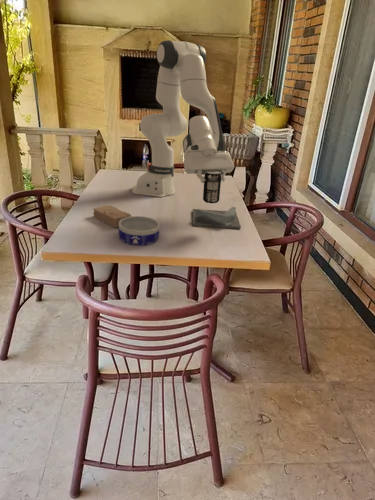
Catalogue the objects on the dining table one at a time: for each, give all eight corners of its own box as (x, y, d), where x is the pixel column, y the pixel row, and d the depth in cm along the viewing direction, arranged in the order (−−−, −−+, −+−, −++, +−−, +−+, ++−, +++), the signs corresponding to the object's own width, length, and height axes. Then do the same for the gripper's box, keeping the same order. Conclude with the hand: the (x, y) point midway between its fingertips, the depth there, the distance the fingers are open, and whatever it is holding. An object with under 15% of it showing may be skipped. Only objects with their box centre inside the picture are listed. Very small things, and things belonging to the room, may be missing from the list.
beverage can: (210, 198, 156) (212, 169, 151) (222, 201, 152) (225, 172, 147) (199, 200, 152) (201, 171, 147) (211, 204, 148) (213, 174, 143)
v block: (192, 211, 175) (193, 200, 173) (235, 214, 176) (236, 203, 173) (193, 226, 159) (194, 214, 156) (240, 229, 159) (242, 217, 157)
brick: (92, 217, 160) (92, 206, 158) (109, 213, 166) (108, 203, 164) (115, 229, 150) (115, 218, 148) (132, 225, 156) (132, 214, 154)
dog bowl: (160, 231, 152) (161, 217, 149) (157, 247, 138) (157, 232, 135) (122, 228, 151) (122, 214, 149) (115, 244, 138) (115, 229, 135)
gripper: (226, 155, 158) (233, 184, 154) (180, 156, 152) (186, 186, 148) (232, 146, 153) (240, 176, 149) (184, 146, 146) (191, 178, 142)
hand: (213, 181), depth 148 cm, fingers closed on beverage can, 7 cm apart
